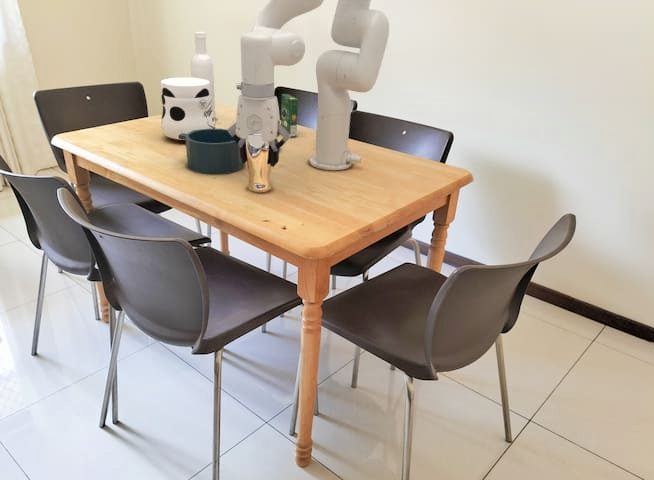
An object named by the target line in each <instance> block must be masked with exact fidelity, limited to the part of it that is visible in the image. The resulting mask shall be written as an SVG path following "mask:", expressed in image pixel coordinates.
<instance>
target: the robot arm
mask: <svg viewBox="0 0 654 480" xmlns="http://www.w3.org/2000/svg"><path fill="white" fill-rule="evenodd" d="M371 1H372V0H337V3H336V8H335V10H334V11H335V12H334V15H333V20H332V23H331V29H330V36H331V39H332V41H333V42H334V43H335V44H337V45H339V46H343V47H348V48H353V49H359V52H353V51H347V50H342V49H341V50H340V49H329V50H328V49H327V50H326V51H323V52H322V53H321V54H320V55H319V56H318V58H317V60H316V63H315V76H316V84H317V110H316V112H317V116H316V129H315V131H316V132H315V133H316V134H315V148H314V149H315V151H314V155H313V156H311V157H309V164H310V165H311V166H312V167H314V168H316V169H320V170H325V171H343V170H346V169H349V168H351V167H352V165H353V162H354V163H358V164H361V163H362V157H363V156H362V155H360V154H358V153H352V152H351V148H350V147H349V138H350V137H349V134H350V124H351V113H352V100H351V96H350V93H349V91H350V92H355V93H368V92H370V91H371V90H372V89H373V88H374V86H375V84H376V83H377V80H378V77H379V73H380V70H381V66H382V63H383V60H384V56H385V52H386V49H387V45H388V40H389V36H390V21H389V18H388V17H387V16H386V15H387V14H385V13H384V12H382V11H381V10H377V9H371V8H370V7H371ZM323 3H324V0H269V1H268V2H267V3H266V4H265V5H264V6H263V7H262V9H261V10H260V12H259V13H258V16H257V17H256V19H255V22H254V23H253V25H252V28H251V30H250V31H248V32H245V33H243V34H242V35H241V37H240V62H241V63H240V64H241V65H240V67H241V69H240V70H241V82H240V83H237V82H236V89H237V90H239V91H240V92H241V93H240V94H239V95H238V98H237V106H236V119H235V123H233V124H232V125H230V126H229V127H228V128H227V130H228V132H229V134H230V135H231V136H232V137H233V139H234V140H235V142H236V143H237V144H238V146H239V147H240V158H241V159H242V163H243V164H247V159H246V153H245V139H248V133H253V134H262V140H263V141H267V142H269V143H270V145H271V147H272V151H271V152H270V165H271V168H274V167H275V166H276V165H277V164H278V163H279V159H280V156H279V154H280V153H279V151H280V150H279V148H280V149H281V148H282V147H283V146H284V145H285V144H286V143H287V142H288V141H289V140H290V139H291V138H292V137H291V135H290V133H289V132H288V131H287V130H286V129H285V128H284V127H283V126H282V125H281V113H280V107H279V102H278V101H279V100H278V97H277V96H276V95H275V66H285V67H291V66H295V65H297V64H299V63H300V62H301V61H302V59H303V58H304V56H305V53H306V44H305V41H304V39H303V37H302V36H301V35H300V34H298V33H297V32H295V31H291V30H286V29H285V30H284V29H282V28H283V26H285V24H287V23H288V22H289V21H291V20H292V19H295V18H296V17H299V16H302V15H305V14H307V13H309V12H312V11H314V10H315V9H318V8H319V7H321V6H322V4H323ZM280 135H281V136H282V138H281V139H280V140H278V137H280Z"/></svg>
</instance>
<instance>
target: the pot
mask: <svg viewBox="0 0 654 480" xmlns="http://www.w3.org/2000/svg"><path fill="white" fill-rule="evenodd" d="M178 136H179V139H185V140H186V142H185V147H186V160H187V161H186V162H187V167H188V169H189V170H191V171H193V172H195V173H198V174H205V175H225V174H226V175H227V174H230V173H235V172H237V171H239V170H242V168H243V166H244V163H242V159H241V158H240V147H239V146H238V144H237V143H236V142H235V140H234V139H233V137H232V136H231V135H230V134H229V132H228V129H224V128H215V129H201V130H196V131H192V132H190V133H188V134H184V133H182V134H180V135H178Z"/></svg>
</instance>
